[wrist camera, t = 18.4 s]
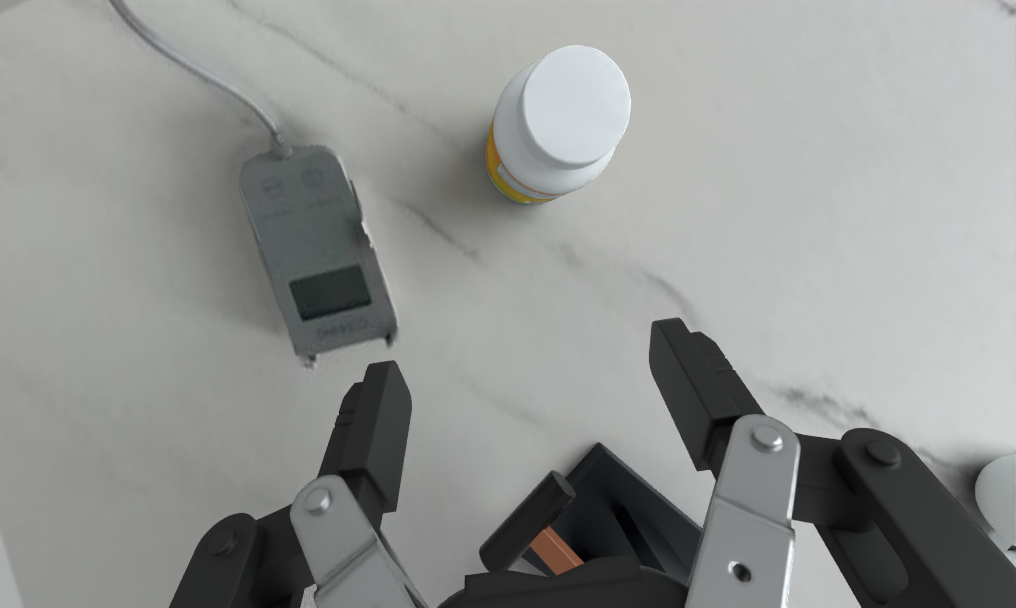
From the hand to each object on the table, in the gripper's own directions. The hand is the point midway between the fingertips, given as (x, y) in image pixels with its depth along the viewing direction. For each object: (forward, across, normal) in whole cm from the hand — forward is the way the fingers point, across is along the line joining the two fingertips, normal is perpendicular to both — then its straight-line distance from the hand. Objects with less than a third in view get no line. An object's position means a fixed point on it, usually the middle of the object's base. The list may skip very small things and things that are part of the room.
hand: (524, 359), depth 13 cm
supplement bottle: (+15, -2, -1) cm, 15 cm away
